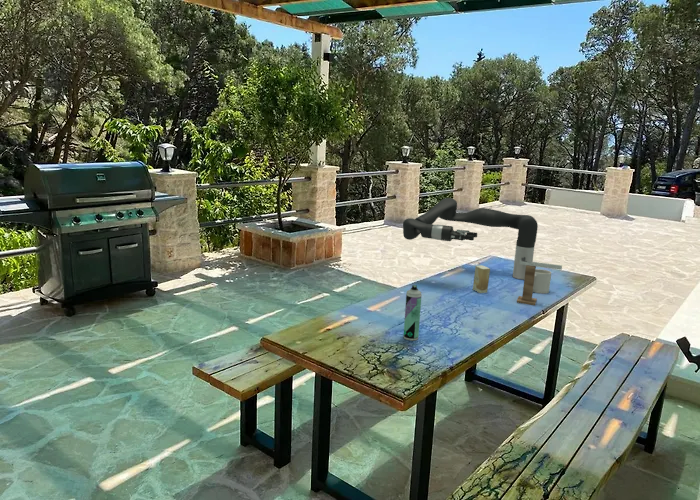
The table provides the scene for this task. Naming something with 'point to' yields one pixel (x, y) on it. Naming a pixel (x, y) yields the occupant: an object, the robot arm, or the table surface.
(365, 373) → the table surface
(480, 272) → the skincare box
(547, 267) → the latch bar
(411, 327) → the spray can
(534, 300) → the post
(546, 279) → the mug
